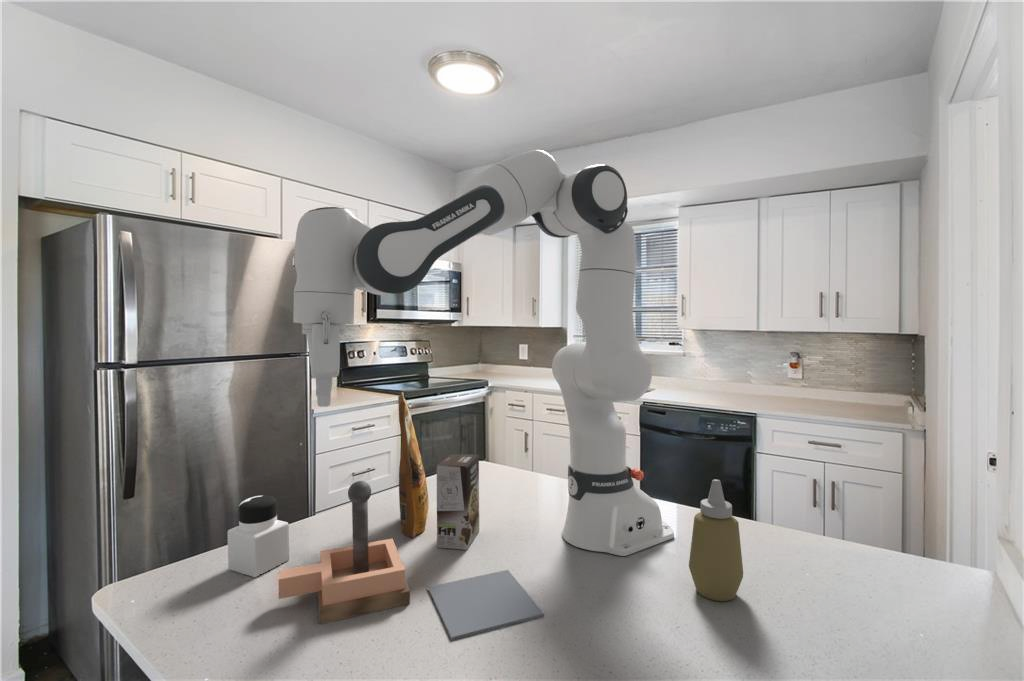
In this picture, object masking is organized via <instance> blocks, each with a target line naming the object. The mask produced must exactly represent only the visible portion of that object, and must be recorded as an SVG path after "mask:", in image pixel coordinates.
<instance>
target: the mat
mask: <svg viewBox="0 0 1024 681" xmlns="http://www.w3.org/2000/svg"><path fill="white" fill-rule="evenodd" d="M428 589H429V590H428ZM427 590H428V592H429V595H430V594H431V595H430V597H431V596H432V597H431V599H432V598H433V599H432V601H433V603H434V605H435V608H436V609H437V612H438V615H439V616H440V619H441V621H442V623H443V625H444V627H445V630H446V632H447V634H448V636H449V638H450V640H451V641H453V640H457V639H460V638H464V637H465V638H466V637H469V636H473V635H476V634H480V633H484V632H488V631H492V630H497V629H498V628H499V629H500V628H503V627H507V626H510V625H516V624H518V623H522V622H527V621H532V620H535V619H538V618H542V617H544V616H545V615H544V612H543V611H542V609H541V608H540V607H539V606H538V604H536V602H535V601H534V600H533V598H532V597H531V596H530V595H529V593H527V591H526V590H525V589H524V587H523V586H522V585H521V583H519V581H518V580H517V579H516V578H515V576H514V575H513V574H512V573H511V571H510V570H509V569H505V570H499V571H496V572H491V573H487V574H482V575H481V574H480V575H476V576H472V577H468V578H463V579H460V580H459V579H458V580H453V581H450V582H444V583H440V584H435V585H430V586H427Z"/></svg>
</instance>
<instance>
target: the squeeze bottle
mask: <svg viewBox="0 0 1024 681" xmlns="http://www.w3.org/2000/svg"><path fill="white" fill-rule="evenodd" d="M707 497H708V498H703V499H702V500H700V503H699V504H700V509H699V510H700V511H699V512H697V513H696V514H695V516H694V517H693V526H692V527H693V528H692V532H691V533H692V534H691V543H690V551H689V560H688V567H689V568H688V569H689V572H690V574H691V578H692V581H693V583H694V587H695V590H696V591H697V593H699V594H700V595H701V596H702V597H705V598H707V599H709V600H712V601H716V602H728V601H732V600H733V599H735V597H737V593H738V591H739V588H740V586H741V583H742V581H743V578H744V567H743V565H744V564H743V556H742V555H743V554H742V547H741V545H742V544H741V537H740V536H741V534H740V525H739V521H738V520H737V519H736V518H735V516H733V505H732V503H730V502H729V501H726V500H725V497H724V491H723V486H722V482H721V480H720V479H712V481H711V484H710V489H709V492H708V496H707Z"/></svg>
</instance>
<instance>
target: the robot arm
mask: <svg viewBox="0 0 1024 681" xmlns="http://www.w3.org/2000/svg"><path fill="white" fill-rule="evenodd" d="M628 213H629V212H628V191H627V186H626V183H625V180H624V179H623V177H622V174H621V173H620V172H619V171H618V170H617V169H616V168H615V167H613V166H610V165H607V164H594V165H589V166H586V167H584V168H582V169H581V170H578V171H575V172H573V173H571V174H569V175H566V174H564V173H563V172H562V171H560V167H559V164H558V162H556V160H555V159H554V157H553V156H552V154H551V155H550V154H549V153H548V152H546V151H544V150H542V149H532V150H528V151H524V152H521V153H517V154H515V155H512V156H510V157H507V158H504V159H502V160H500V161H499V162H495V163H494V164H493V165H491V166H489V167H487V168H486V169H484V170H482V171H481V172H479V173H478V174H476V175H475V176H473V178H471V179H470V180H469V181H468V182H467V183H465V185H463V187H462V189H461V191H460V195H458V196H457V197H456V198H455V199H453V200H452V201H450V202H448V203H446V204H444V205H442V206H441V207H439V208H437V209H435V210H433V211H431V212H429V213H427V214H426V215H423V216H421V217H419V218H416V219H413V220H410V221H409V220H408V221H390V222H383V223H380V224H377V225H375V226H374V227H372V226H369V225H368V224H366V223H365V222H363V221H362V220H360V219H359V218H358V217H357V216H355V215H354V214H353V213H352V212H351V211H350V210H349V209H348V208H344V207H338V206H324V207H318V208H314V209H310V210H308V211H307V212H305V213H304V214H303V215H302V216H301V217H300V219H299V221H298V224H297V228H296V232H295V233H296V234H295V243H294V267H295V271H296V281H295V282H296V283H295V285H294V289H293V320H292V322H293V323H295V324H301V334H302V335H306V337H307V346H308V355H309V364H310V371H311V376H312V378H315V397H316V398H317V402H316V404H317V406H318V407H320V408H322V407H326V408H327V407H329V406H330V405H331V401H332V400H331V399H332V398H331V397H332V396H331V394H332V388H333V378H337V377H338V376H340V364H341V363H340V362H341V360H340V359H341V358H340V357H341V355H340V353H341V352H340V350H341V349H340V348H341V346H340V345H341V344H340V341H341V339H340V338H341V336H344V335H346V326H347V325H354V324H355V291H356V290H361V291H363V292H368V293H370V294H372V295H378V296H387V295H391V294H393V295H394V294H403V293H406V292H408V291H409V292H410V291H411V290H413V289H414V288H416V287H417V286H418V285H419V284H420V283H421V282H422V281H423V280H424V278H425V277H426V276H427V274H428V273H429V271H430V270H431V268H432V266H433V265H434V264H435V263H436V261H437V260H439V258H441V257H442V256H443V255H445V254H447V253H448V252H450V251H452V250H453V249H455V248H456V247H458V246H460V245H461V244H463V243H465V242H467V241H468V240H469V239H471V238H473V237H475V236H477V235H480V234H482V235H484V236H485V235H486V236H491V235H496V234H498V233H501V232H504V231H506V230H508V229H511V228H513V227H514V226H517V225H518V224H520V223H521V222H523V221H525V220H526V219H528V218H529V217H532V218H533V219H534V221H535V223H536V225H537V227H538V228H539V229H540V231H542V232H543V233H544V234H545V235H547V236H550V237H551V238H559V239H562V238H568V237H571V236H577V239H578V240H579V244H580V249H581V251H580V252H581V255H580V256H581V257H580V264H579V269H578V270H579V271H578V280H577V281H578V282H577V289H576V290H577V292H576V293H577V294H576V302H575V310H576V313H577V315H578V316H579V318H580V319H581V322H582V325H583V330H584V337H585V341H578V342H575V343H570V344H568V345H565V346H563V347H562V348H560V349H559V350H558V351H557V352H556V353H555V355H554V356H553V359H552V364H551V371H552V375H553V377H554V379H555V381H556V383H557V384H558V386H559V389H560V391H561V395H562V399H563V403H564V407H565V411H566V412H565V413H566V416H567V420H568V421H567V422H568V427H569V428H568V430H569V456H570V457H569V462H570V463H569V464H568V466H567V490H568V502H567V511H566V517H565V522H564V526H563V529H562V532H561V535H562V538H563V539H564V540H565V541H566V542H567V543H569V544H570V545H572V546H573V547H576V548H578V549H579V548H580V549H583V550H587V551H591V552H598V553H599V552H601V553H607V554H612V555H614V556H615V555H616V556H620V557H626V556H630V555H632V554H635V553H637V552H639V551H642V550H646V549H647V548H651V547H654V546H656V545H658V544H661V543H663V542H666V541H669V540H671V539H674V537H675V534H674V533H675V532H674V530H673V528H672V527H671V526H670V525H668V524H667V522H665V521H663V520H662V519H663V518H662V514H661V508H660V506H659V504H658V503H657V501H655V500H654V498H652V497H651V496H650V495H648V494H647V493H646V492H644V491H643V490H642V489H640V488H639V487H638V486H637V485H635V483H634V480H636V481H642V480H643V478H644V475H645V474H644V471H643V470H641V469H638V468H633V469H632V468H631V467H629V466H628V465H627V431H626V427H625V425H624V423H623V422H622V421H621V419H620V418H619V416H618V413H617V410H616V408H615V405H614V404H615V403H625V402H626V403H627V402H632V401H633V402H634V401H637V400H639V399H640V398H642V397H643V396H644V395H645V394H646V392H647V391H648V390H649V387H650V385H651V382H652V376H653V375H652V374H653V373H652V372H653V370H652V367H651V363H650V361H649V359H648V357H647V356H646V355H645V353H644V352H643V351H642V349H641V347H640V345H639V342H638V339H637V335H636V329H635V326H634V325H635V324H634V315H633V314H634V311H633V309H634V294H635V284H636V283H635V281H636V270H637V247H636V246H637V244H636V237H635V231H634V228H633V226H632V225H631V223H629V222H627V221H626V218H627V215H628ZM633 479H634V480H633Z"/></svg>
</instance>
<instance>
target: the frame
mask: <svg viewBox="0 0 1024 681" xmlns="http://www.w3.org/2000/svg"><path fill="white" fill-rule="evenodd" d="M368 553H369V563H375V562H380V561H386V564H387V567H388V568H386V569H381V570H375V571H370V572H365V573H360V574H355V575H349V576H344V577H339V578H334V579H333V577H332V570H337V569H342V568H348V567H353V544H352V545H346V546H341V547H335V548H330V549H323V550H320V551H319V557H320V558H319V559H320V560H319V561H320V562H318V563H311V564H306V565H301V566H296V567H291V568H284V569H279V571H278V580H277V581H278V584H277V585H278V599H279V600H282V599H287V598H292V597H296V596H301V595H308V594H312V593H318V591H322V603H323V606H325V605H329V604H334V603H339V602H344V601H348V600H353V599H358V598H363V597H367V596H372V595H377V594H381V593H386V592H391V591H396V590H400V589H405V580H406V568H405V566H404V564H403V562H402V558H401V556H400V554H399V551H398V548H397V546H396V544H395V542H394V539H393V538H387V539H382V540H376V541H370V542H369V541H368Z"/></svg>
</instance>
